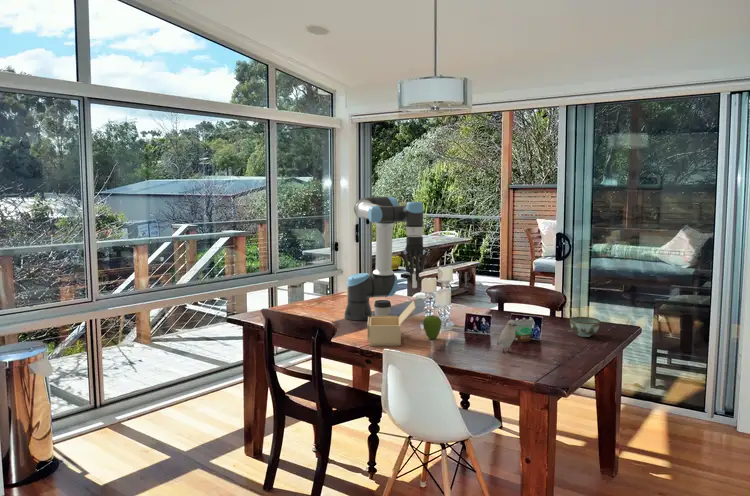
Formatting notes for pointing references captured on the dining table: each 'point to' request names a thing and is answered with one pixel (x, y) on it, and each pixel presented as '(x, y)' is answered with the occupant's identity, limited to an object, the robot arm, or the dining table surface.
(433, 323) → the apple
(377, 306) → the coffee cup
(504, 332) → the bird
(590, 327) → the bowl
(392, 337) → the carton
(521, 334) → the food container
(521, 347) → the dining table surface
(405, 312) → the flap
